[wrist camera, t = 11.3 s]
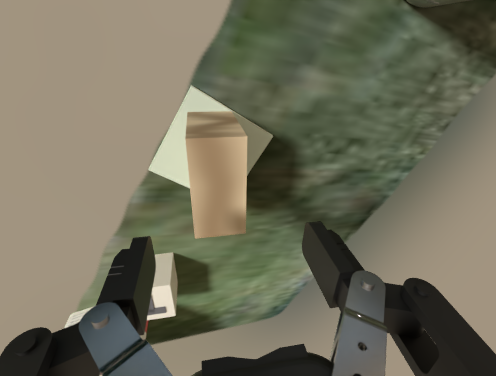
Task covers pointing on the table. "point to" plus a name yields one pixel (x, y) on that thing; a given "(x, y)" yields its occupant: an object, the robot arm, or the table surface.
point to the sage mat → (174, 144)
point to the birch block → (217, 173)
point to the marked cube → (164, 288)
